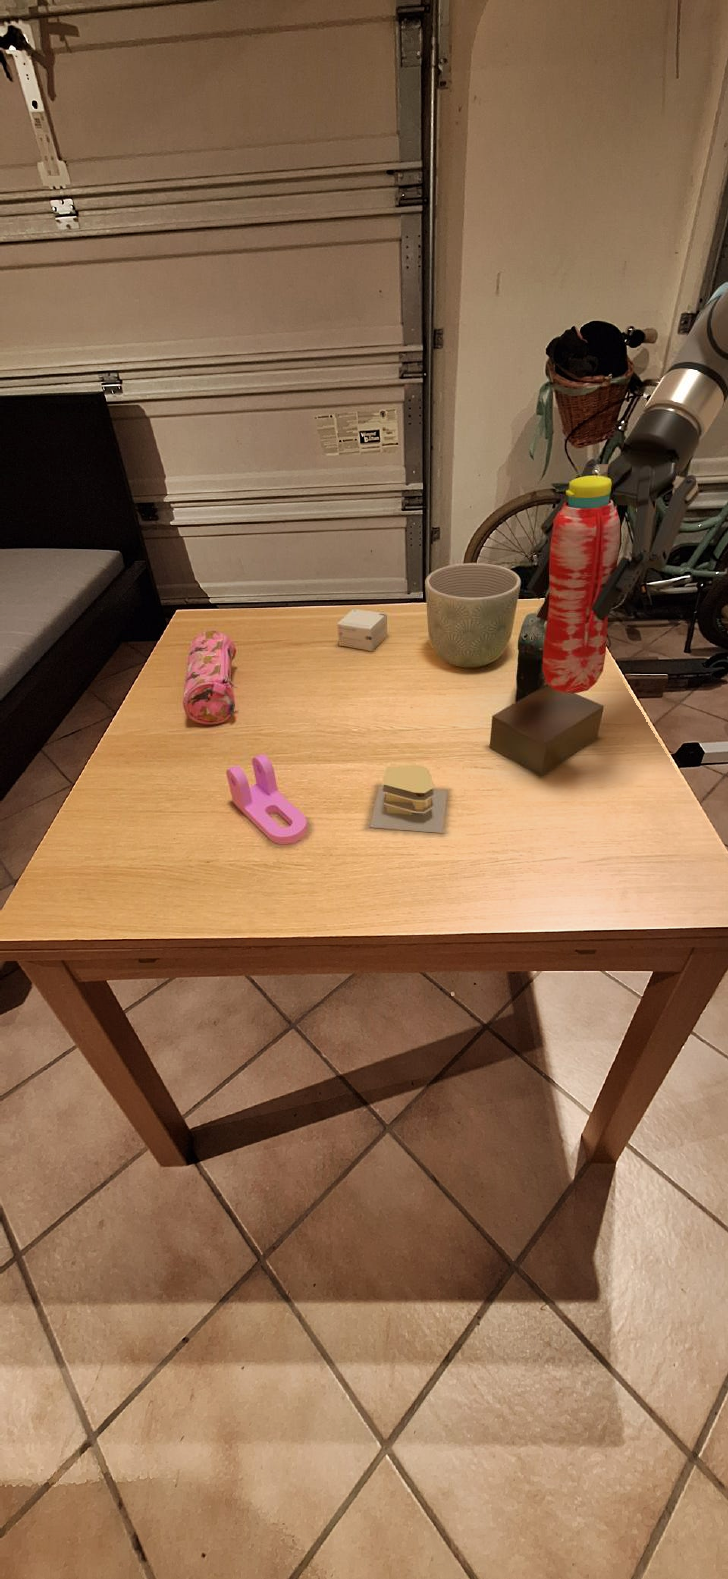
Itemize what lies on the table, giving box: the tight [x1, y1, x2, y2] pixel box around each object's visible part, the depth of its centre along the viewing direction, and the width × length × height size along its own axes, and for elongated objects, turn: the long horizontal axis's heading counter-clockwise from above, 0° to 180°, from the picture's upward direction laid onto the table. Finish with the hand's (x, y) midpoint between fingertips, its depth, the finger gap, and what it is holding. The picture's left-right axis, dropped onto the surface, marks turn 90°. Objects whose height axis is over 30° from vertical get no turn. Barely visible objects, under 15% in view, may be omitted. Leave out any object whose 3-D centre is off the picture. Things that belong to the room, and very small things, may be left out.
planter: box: [424, 562, 522, 668], centre depth 118 cm, size 17×17×15 cm
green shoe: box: [514, 586, 550, 703], centre depth 105 cm, size 20×6×20 cm, turn 152°
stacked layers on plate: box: [369, 765, 448, 834], centre depth 87 cm, size 10×9×6 cm
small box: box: [337, 608, 388, 653], centre depth 129 cm, size 8×8×5 cm
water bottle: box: [537, 476, 621, 694], centre depth 77 cm, size 12×8×25 cm, turn 2°
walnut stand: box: [489, 683, 605, 777], centre depth 98 cm, size 10×14×6 cm
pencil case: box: [182, 629, 238, 725], centre depth 114 cm, size 21×9×9 cm, turn 10°
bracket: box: [225, 753, 308, 846], centre depth 87 cm, size 13×6×7 cm, turn 38°
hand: (564, 603), depth 75 cm, fingers closed on water bottle, 8 cm apart
